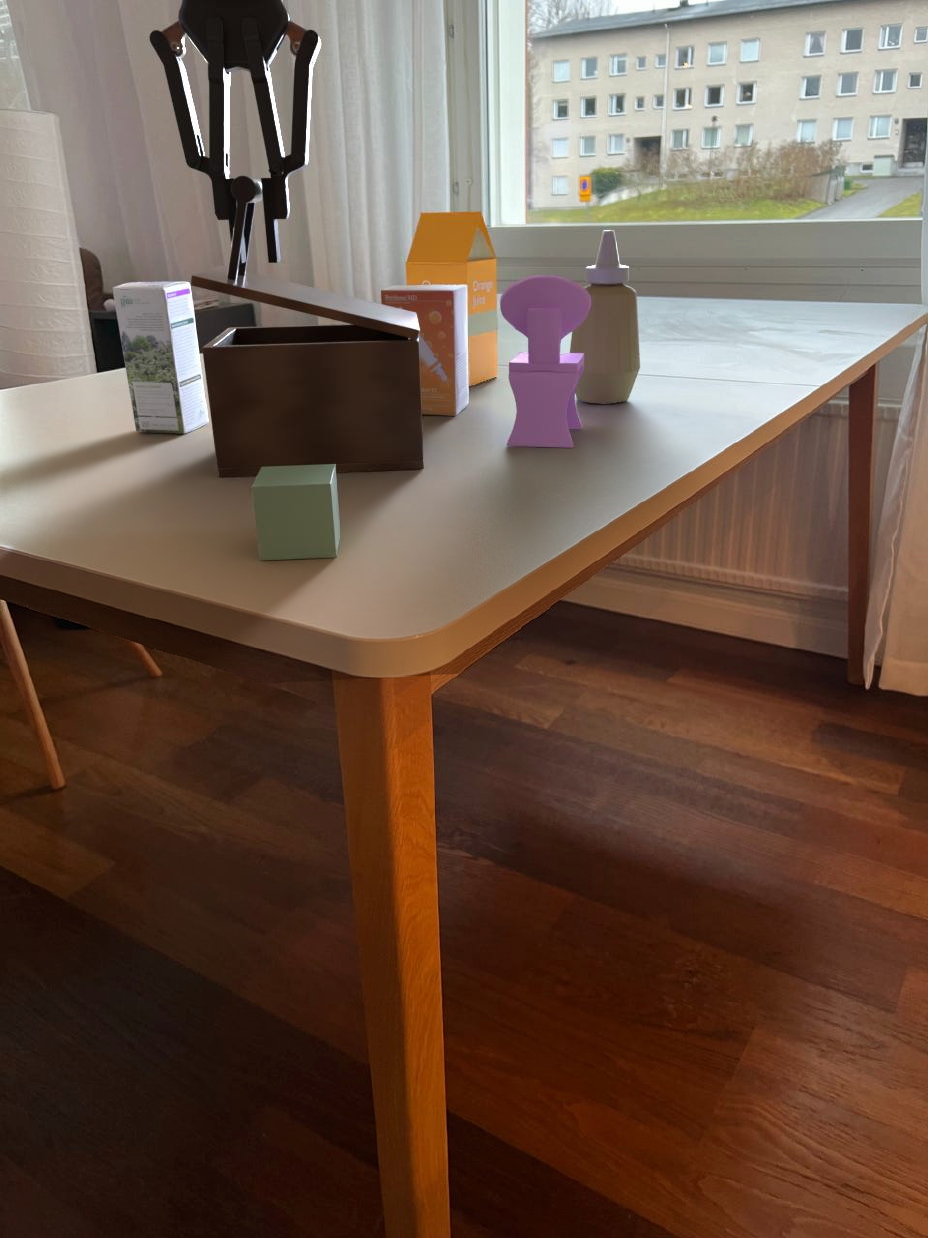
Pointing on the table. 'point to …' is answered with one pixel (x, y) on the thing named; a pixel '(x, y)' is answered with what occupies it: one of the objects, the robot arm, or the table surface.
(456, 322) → the small box
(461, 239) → the orange juice
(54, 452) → the table surface
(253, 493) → the block
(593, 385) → the squeeze bottle
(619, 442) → the table surface
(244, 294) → the lid
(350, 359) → the chest
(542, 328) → the toy chair
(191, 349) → the syrup box
